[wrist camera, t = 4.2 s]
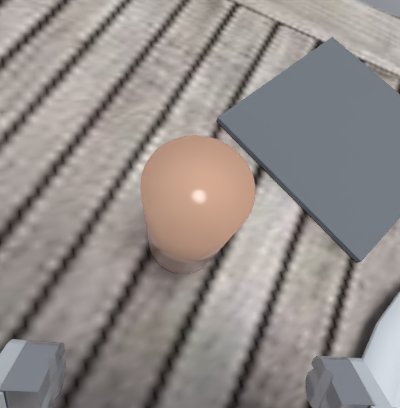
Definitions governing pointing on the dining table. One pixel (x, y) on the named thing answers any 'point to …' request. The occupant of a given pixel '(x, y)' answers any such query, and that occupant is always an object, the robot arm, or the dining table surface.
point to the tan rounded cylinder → (194, 200)
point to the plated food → (386, 352)
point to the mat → (328, 143)
